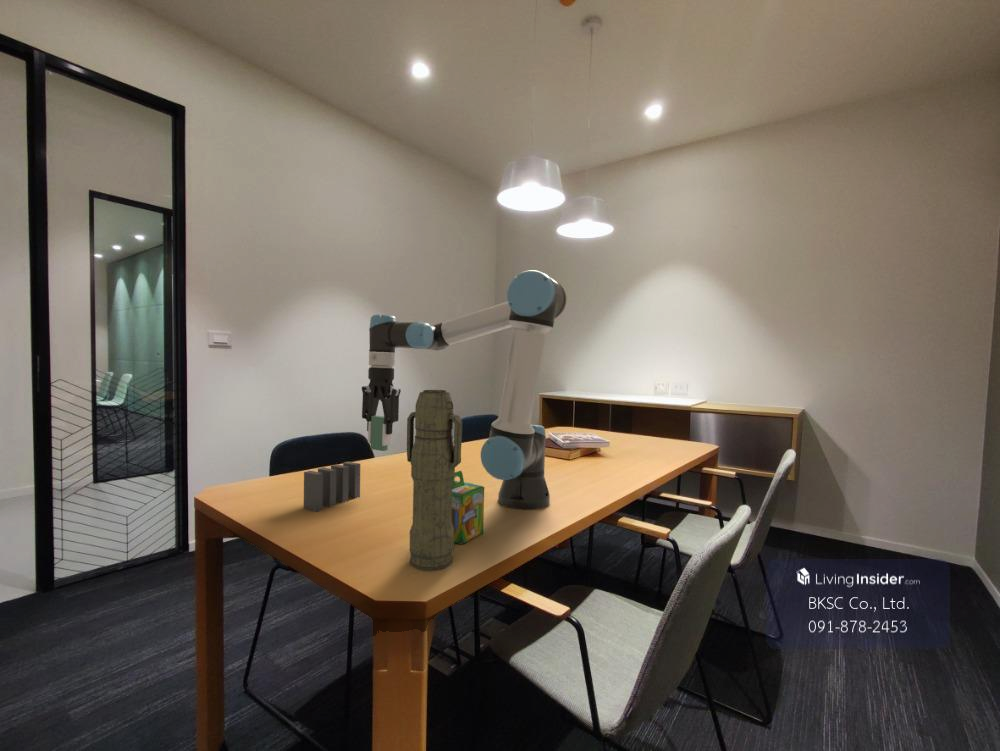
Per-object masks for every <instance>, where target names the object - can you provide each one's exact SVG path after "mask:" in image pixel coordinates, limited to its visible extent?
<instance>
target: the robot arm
mask: <svg viewBox="0 0 1000 751" xmlns="http://www.w3.org/2000/svg"><path fill="white" fill-rule="evenodd" d="M506 291H507V292H506V300H507V301H505V302H502V303H499V304H495V305H493V306H490V307H486V308H483V309H480V310H476V311H474V312H470V313H466V314H464V315H461V316H457V317H455V318H452V319H448V320H445V321H443V322H440V323H436V324H432V325H431V324H429V323H428V322H420V321H415V322H414V321H413V322H408V321H407V322H400V321H397V318H396V316H394V315H389V314H373V315H372V316H371V317H370V323H369V329H368V330H369V350H368V365H369V366H370V367H369V368H368V369H367V373H368V374H367V377H368V380H369V383H368V385H363V386H361V394H362V405H361V406H362V407H361V419H365V420H366V422H367V423H366V425H367V426H366V431H367V433H368V434H367V436H368V437H367V444H371V417H372V416H377V412H378V406H379V403H380V402H381V405H382V411H383V412H382V413H383V416H384V419H385V422H383V423H384V424H383V434H382V446H385V445H388V446H391V438H392V437H391V435H392V434H393V425H394V423H396V422H399V418H400V417H399V413H400V410H399V409H400V405H399V404H400V403H399V402H400V395H401V392H402V391H401V389H400V388H396V387H394V384H393V381H394V379H395V368H393V367H395V365H396V364H395V361H396V360H395V358H396V349H397V348H399V349H400V348H401V349H402V348H403V349H416V350H417V349H418V350H431V351H441V350H445V349H447V348H448V347H449V346H451V345H455V344H458V343H461V342H465V341H469V340H471V339H475V338H479V337H483V336H486V335H490V334H492V333H496V332H499V331H503V330H506V329H509V328H512V336H511V341H510V346H509V352H508V358H507V365H506V369H505V370H506V372H505V377H504V383H503V388H502V389H503V390H502V393H501V394H502V396H501V400H500V405H499V406H500V407H499V412H498V413H499V414H498V417H497V418H496V419H495V420H494V421H493V422H492V423H491V426H490V430H489V437H488V439H486V440H485V441H484V443H483V445H482V446H481V449H480V462H481V465H482V466H483V468H484V469H485V471H486V472H487V473H488V475H490V476H491V477H492V478H494V479H496V480H499V481H502V482H501V485H500V488H499V491H498V496H497V497H498V499H497V500H498V503H499V504H500V505H501V506H504V507H508V508H511V509H518V510H538V509H542V508H545V507H547V506H549V504H550V503H551V502H550V499H551V497H550V496H551V494H550V491H549V488H548V485H547V481H546V478H545V465H546V464H545V462H546V461H545V460H546V439H547V436H546V428H545V427H544V426H543V425H541V424H540V425H539V424H531V421H532V417H533V412H534V411H533V410H534V405H535V399H536V398H535V397H536V393H537V387H538V381H539V375H540V370H541V365H542V364H541V363H542V358H543V353H544V346H545V343H546V342H545V341H546V336H547V334H548V333H549V332H551V331H552V330H553V329H554V323H555V320H556V319H557V318H559V316H561V315H562V314H563V312H564V311H565V308H566V305H567V294H566V290H565V289H564V287H563V286H562V285H561V283H560V282H558V281H556V280H555V279H553V278H552V277H551V276H550V275H549V274H547V273H545V272H542V271H539V270H536V269H535V270H534V269H533V270H532V269H531V270H530V269H529V270H525V271H522V272H520V273H519V274H517V275H516V276H514V278H513V279H512V280H511V281H510V284H509V285H508V287H507V290H506Z"/></svg>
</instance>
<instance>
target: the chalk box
mask: <svg viewBox="0 0 1000 751" xmlns="http://www.w3.org/2000/svg"><path fill="white" fill-rule="evenodd" d="M456 477H457V478H459V481H458V480H455V479H456ZM484 510H485V486H483V485H478V484H474V483H471V482H466V481H465V479H464V475H463V472H462V470H458V471H455V476H454V478H453V481H452V524H453V527H454V543H455V544H460V545H464V544H465V543H468V542H469V541H471V540H473V539H475V538H476V537H478V536H480V535H482V534H484V518H485V517H484V516H485V515H484V512H485V511H484Z"/></svg>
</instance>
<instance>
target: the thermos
mask: <svg viewBox="0 0 1000 751" xmlns="http://www.w3.org/2000/svg"><path fill="white" fill-rule="evenodd" d="M406 421H407V422H406V424H407V425H406V458H407V459H406V460H407V462H408V463H410V465H411V466H410V468H411V472H410V475H411V478H412V481H413V485H412V486H413V487H412V489H413V490H412V491H413V492H412V524H411V526H410V529H409V552H410V558H409V563H410V566H411V567H412V568H414V569H417V570H419V571H428V572H433V571H440V570H443V569H447V567H450V566H451V564H453V560H454V558H453V557H454V556H453V551H454V548H455V547H454V546H455V544H454V543H455V542H454V527H453V524H452V481H453V478H454V476H455V472H456V467H457V466H459V465H460V464H461V463H462V441H463V440H462V439H463V438H462V437H463V421H462V419H461V417H460V415H458V414H455V413H454V404H453V399H452V396H451V394H450V392H447V390H444V389H424V390H422V391H420V392H419V394H418V396H417V399H416V402H415V411H414V412H410V414H409V415H408V417H407V419H406ZM414 428H415V429H414ZM453 428H454V432H453V433H454V434H453V433H452V430H453ZM414 430H415V432H414ZM414 434H415V435H414ZM453 437H454V438H453ZM453 440H454V441H453Z"/></svg>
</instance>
